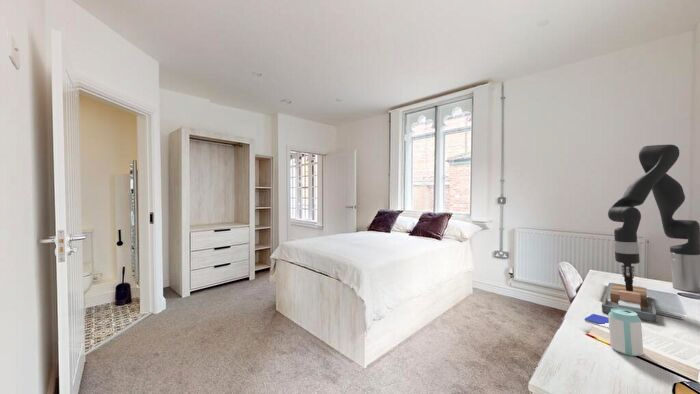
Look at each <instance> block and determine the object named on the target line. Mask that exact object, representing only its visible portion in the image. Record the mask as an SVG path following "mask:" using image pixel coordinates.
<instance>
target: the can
mask: <svg viewBox="0 0 700 394" xmlns="http://www.w3.org/2000/svg"><path fill="white" fill-rule="evenodd" d="M607 315H608V318H609V328H608V329H609V332H608V333H609V345H610V348H612V349H614V350H615V351H616V352H618V353H620V354H622V355H626V356H631V357H637V356H638V357H639V356H642V355H644V345H643V344H644V343H643V341H644V340H643V331H642V328H643V327H642V320H641V319H640V318H639V317H638V316H637V315H638V314H637V313H635V312H633V311H630V310H627V309H621V308H612V309H611V312H610V313H609V314H608V313H607Z"/></svg>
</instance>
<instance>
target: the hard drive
mask: <svg viewBox="0 0 700 394" xmlns="http://www.w3.org/2000/svg"><path fill="white" fill-rule="evenodd" d="M584 322H587V323H590V324H594V325H598V326H600V325H599V324H605V323H609V318H608V317H607V316H603V315H599V314H596V313H592V314H590V315H589V316H586V317H585V318H584Z"/></svg>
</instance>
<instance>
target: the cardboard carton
mask: <svg viewBox="0 0 700 394" xmlns="http://www.w3.org/2000/svg"><path fill="white" fill-rule="evenodd" d="M619 290H622V291H627V290H626V285H625V284H621V283H614V282H612V283H611V288H610V292H609V295H610V296H609V297H610V301H613V302H619V301H620V294H619ZM629 292H636V293H640V297H641V306H642V307H648V308H649V305H648V296H647V295H648V294H647V293H648V292H647V287H643V286H637V285H633V291H629Z"/></svg>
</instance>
